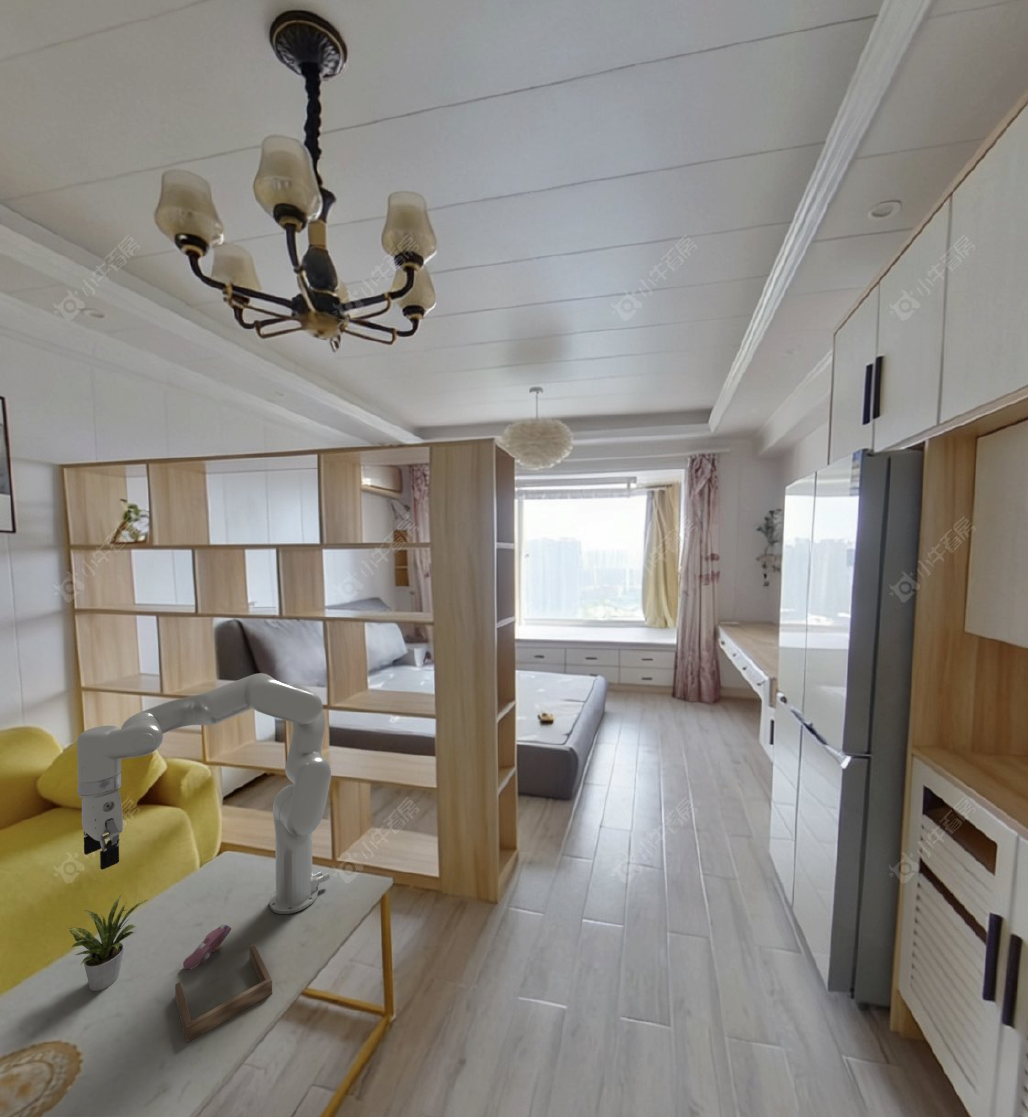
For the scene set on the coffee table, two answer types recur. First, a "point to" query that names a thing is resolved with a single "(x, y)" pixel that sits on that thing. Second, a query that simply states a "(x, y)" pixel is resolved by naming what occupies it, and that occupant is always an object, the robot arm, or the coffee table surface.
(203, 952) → the video game controller
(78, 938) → the house plant
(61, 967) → the coffee table surface
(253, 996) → the dock bay
